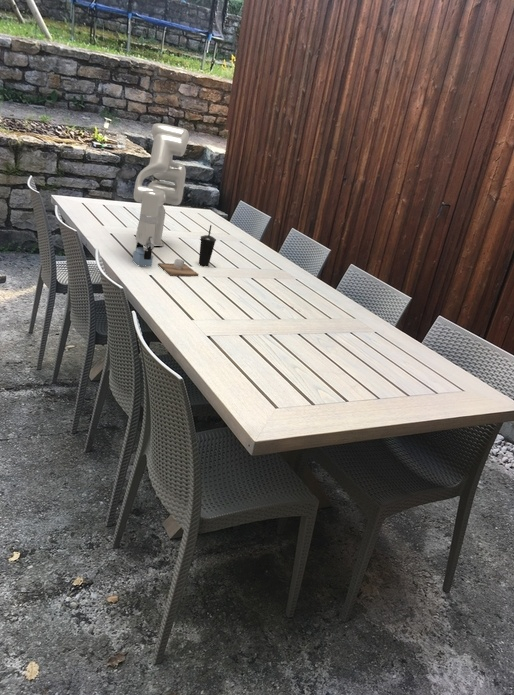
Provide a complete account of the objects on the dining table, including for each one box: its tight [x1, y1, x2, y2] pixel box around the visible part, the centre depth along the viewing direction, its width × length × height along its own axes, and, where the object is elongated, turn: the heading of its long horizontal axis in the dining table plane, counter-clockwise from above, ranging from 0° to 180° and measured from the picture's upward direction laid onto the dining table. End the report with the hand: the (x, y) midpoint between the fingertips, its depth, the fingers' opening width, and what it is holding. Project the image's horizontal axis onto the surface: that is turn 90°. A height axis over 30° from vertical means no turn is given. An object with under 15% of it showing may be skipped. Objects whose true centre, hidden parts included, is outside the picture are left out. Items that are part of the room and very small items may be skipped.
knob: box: [132, 246, 154, 267], centre depth 266 cm, size 7×7×7 cm
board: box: [157, 262, 199, 277], centre depth 269 cm, size 14×14×1 cm
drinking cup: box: [198, 224, 217, 267], centre depth 283 cm, size 8×8×20 cm
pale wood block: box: [173, 258, 185, 270], centre depth 268 cm, size 3×3×4 cm
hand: (142, 256), depth 266 cm, fingers open, 9 cm apart
